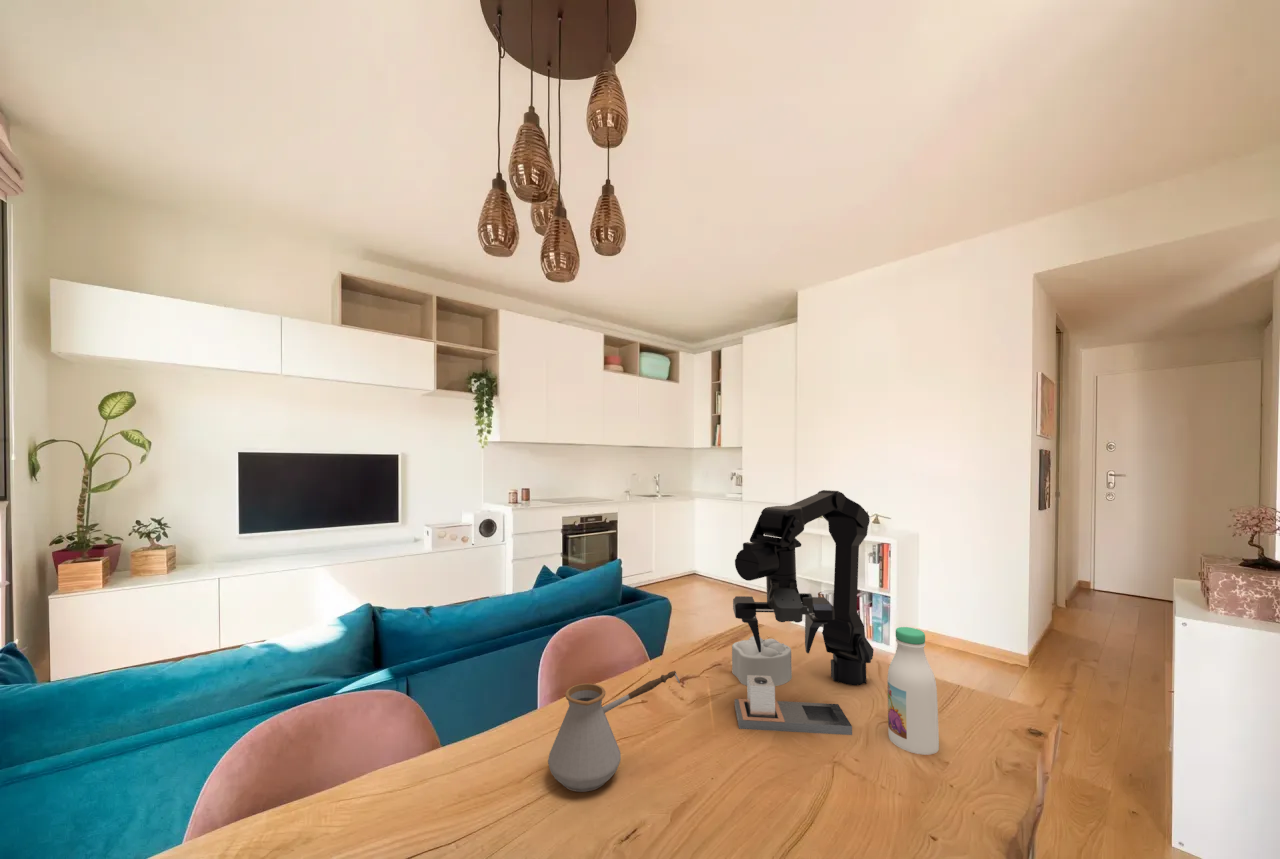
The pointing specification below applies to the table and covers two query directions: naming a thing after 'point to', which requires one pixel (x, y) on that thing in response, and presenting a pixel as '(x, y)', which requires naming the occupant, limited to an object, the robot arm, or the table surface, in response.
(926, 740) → the milk bottle
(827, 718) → the grey flat block
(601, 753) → the coffee pot
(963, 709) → the table surface
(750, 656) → the lumpy-topped squat cylinder
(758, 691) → the block
